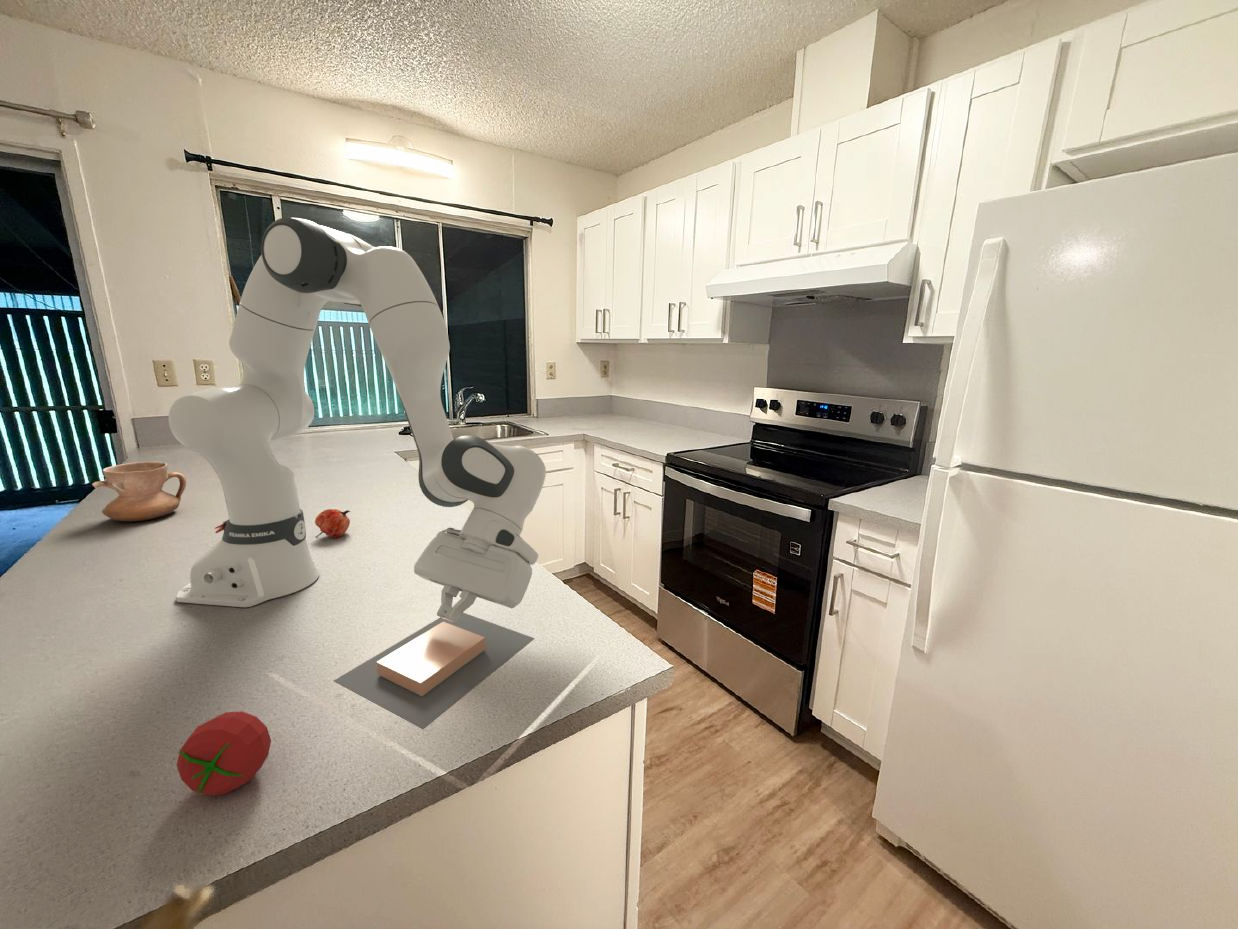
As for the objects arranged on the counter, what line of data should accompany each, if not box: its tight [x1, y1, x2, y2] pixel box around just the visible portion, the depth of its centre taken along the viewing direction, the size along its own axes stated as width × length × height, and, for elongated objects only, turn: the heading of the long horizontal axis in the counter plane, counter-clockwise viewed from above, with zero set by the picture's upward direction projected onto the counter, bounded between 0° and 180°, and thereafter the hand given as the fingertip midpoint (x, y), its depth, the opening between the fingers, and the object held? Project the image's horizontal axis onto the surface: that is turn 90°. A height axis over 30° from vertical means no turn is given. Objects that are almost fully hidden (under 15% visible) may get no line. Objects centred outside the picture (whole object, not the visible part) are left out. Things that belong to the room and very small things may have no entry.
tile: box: [376, 622, 486, 696], centre depth 71 cm, size 2×9×12 cm
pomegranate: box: [314, 508, 351, 539], centre depth 119 cm, size 7×7×10 cm
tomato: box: [176, 711, 272, 797], centre depth 51 cm, size 8×8×8 cm
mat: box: [333, 612, 535, 730], centre depth 73 cm, size 22×18×1 cm
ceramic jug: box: [91, 461, 187, 522], centre depth 130 cm, size 18×14×14 cm
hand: (445, 619), depth 73 cm, fingers closed
